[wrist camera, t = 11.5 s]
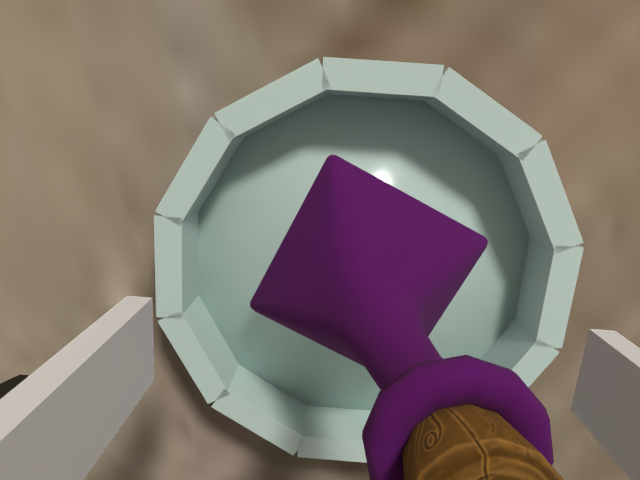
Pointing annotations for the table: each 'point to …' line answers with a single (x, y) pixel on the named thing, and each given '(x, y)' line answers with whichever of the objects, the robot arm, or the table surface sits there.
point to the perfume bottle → (402, 331)
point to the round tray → (391, 167)
